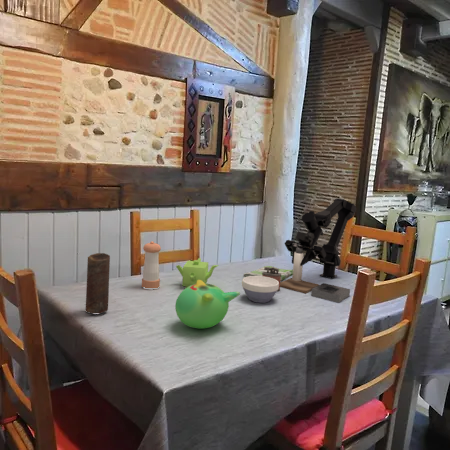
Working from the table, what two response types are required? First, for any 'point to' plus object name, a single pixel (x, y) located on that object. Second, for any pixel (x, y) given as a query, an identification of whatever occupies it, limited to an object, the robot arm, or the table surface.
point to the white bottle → (297, 264)
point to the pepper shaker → (151, 266)
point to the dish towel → (258, 272)
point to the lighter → (272, 274)
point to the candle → (97, 283)
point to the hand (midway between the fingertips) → (296, 264)
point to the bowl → (260, 288)
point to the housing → (330, 292)
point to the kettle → (195, 272)
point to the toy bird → (203, 305)
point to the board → (298, 285)
